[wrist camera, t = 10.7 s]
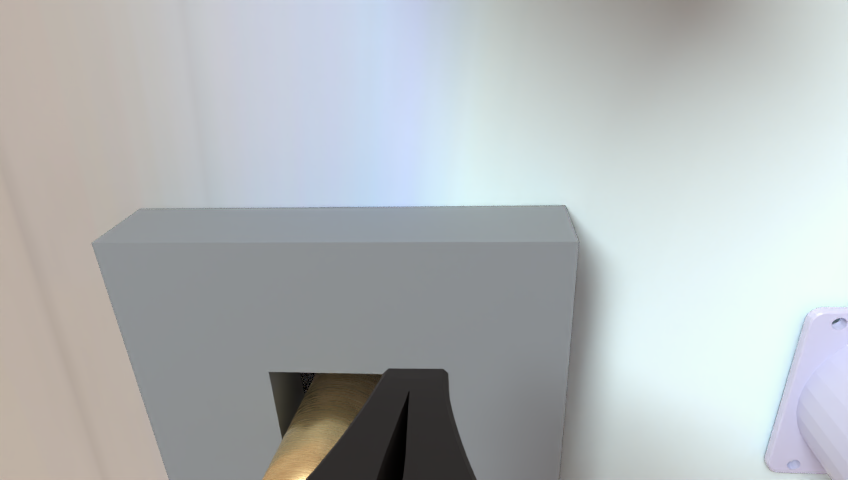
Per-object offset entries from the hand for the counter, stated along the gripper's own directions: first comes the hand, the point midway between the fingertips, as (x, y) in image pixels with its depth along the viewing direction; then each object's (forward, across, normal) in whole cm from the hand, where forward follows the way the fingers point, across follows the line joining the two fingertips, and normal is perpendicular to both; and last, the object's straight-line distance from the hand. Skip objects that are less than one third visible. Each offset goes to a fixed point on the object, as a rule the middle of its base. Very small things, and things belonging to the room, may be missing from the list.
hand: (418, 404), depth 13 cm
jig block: (+9, +4, +7) cm, 12 cm away
